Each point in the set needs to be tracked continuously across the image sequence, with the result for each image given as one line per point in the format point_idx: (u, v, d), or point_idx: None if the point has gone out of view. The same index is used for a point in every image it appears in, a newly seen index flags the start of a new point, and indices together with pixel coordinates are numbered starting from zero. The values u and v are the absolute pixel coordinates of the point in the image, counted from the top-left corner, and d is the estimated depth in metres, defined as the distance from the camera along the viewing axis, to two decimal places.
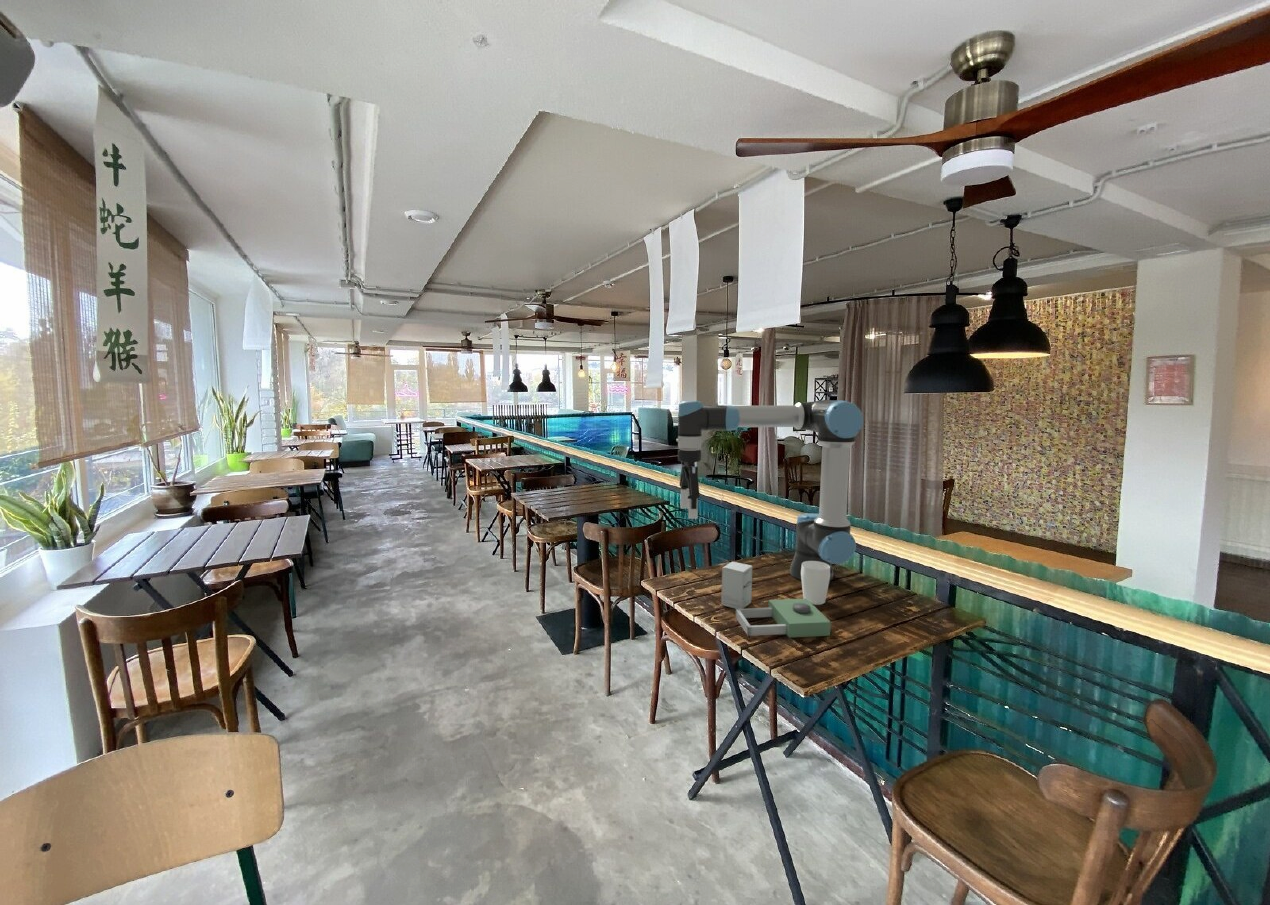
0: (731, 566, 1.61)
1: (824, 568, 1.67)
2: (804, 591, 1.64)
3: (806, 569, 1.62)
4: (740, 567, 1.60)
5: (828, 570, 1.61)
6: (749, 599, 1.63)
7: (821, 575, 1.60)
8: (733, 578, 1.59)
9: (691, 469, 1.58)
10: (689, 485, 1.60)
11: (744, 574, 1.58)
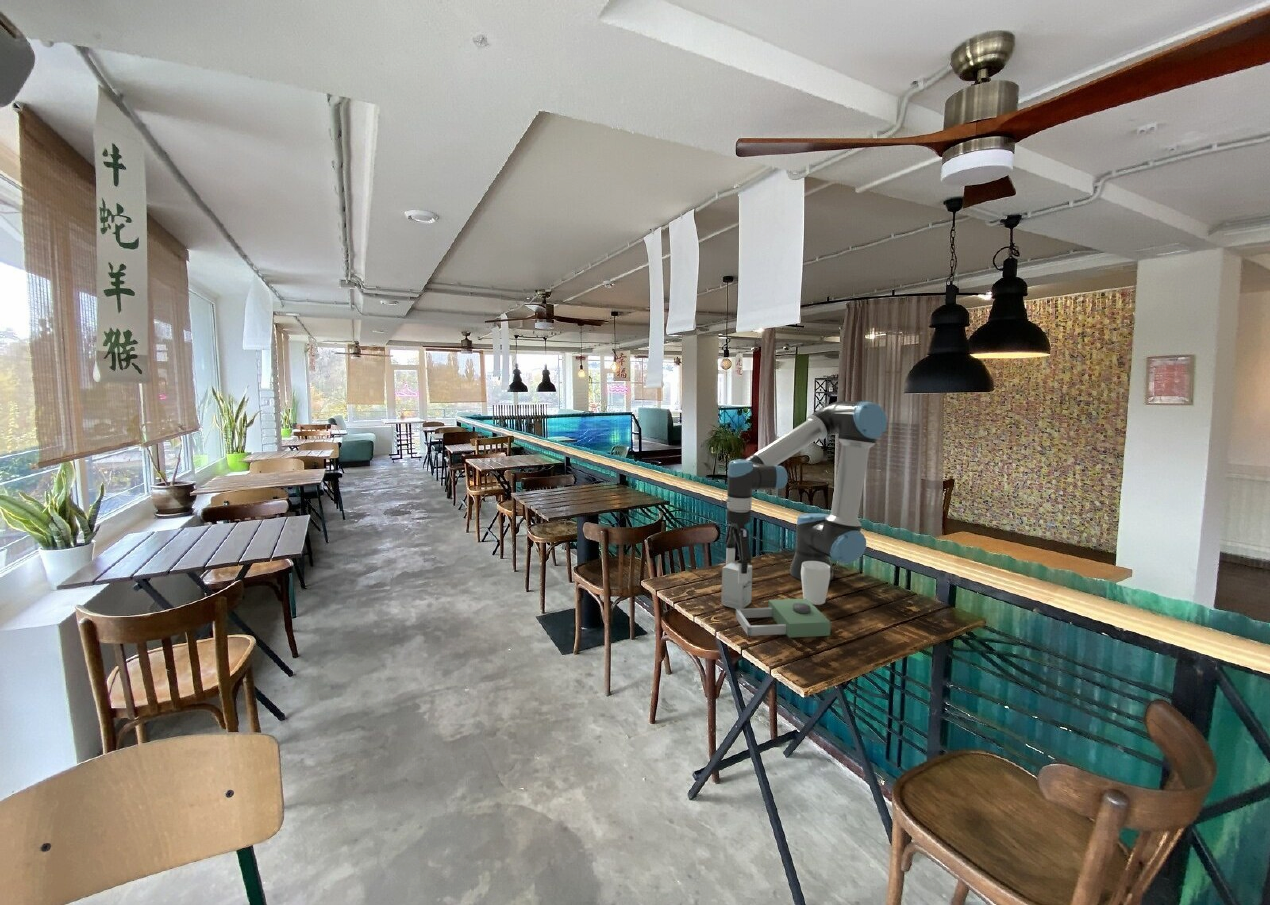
0: (731, 566, 1.61)
1: (824, 569, 1.67)
2: (804, 591, 1.64)
3: (806, 569, 1.62)
4: None
5: (828, 570, 1.61)
6: (749, 599, 1.63)
7: (821, 575, 1.60)
8: (733, 578, 1.59)
9: (742, 532, 1.53)
10: (739, 548, 1.55)
11: None
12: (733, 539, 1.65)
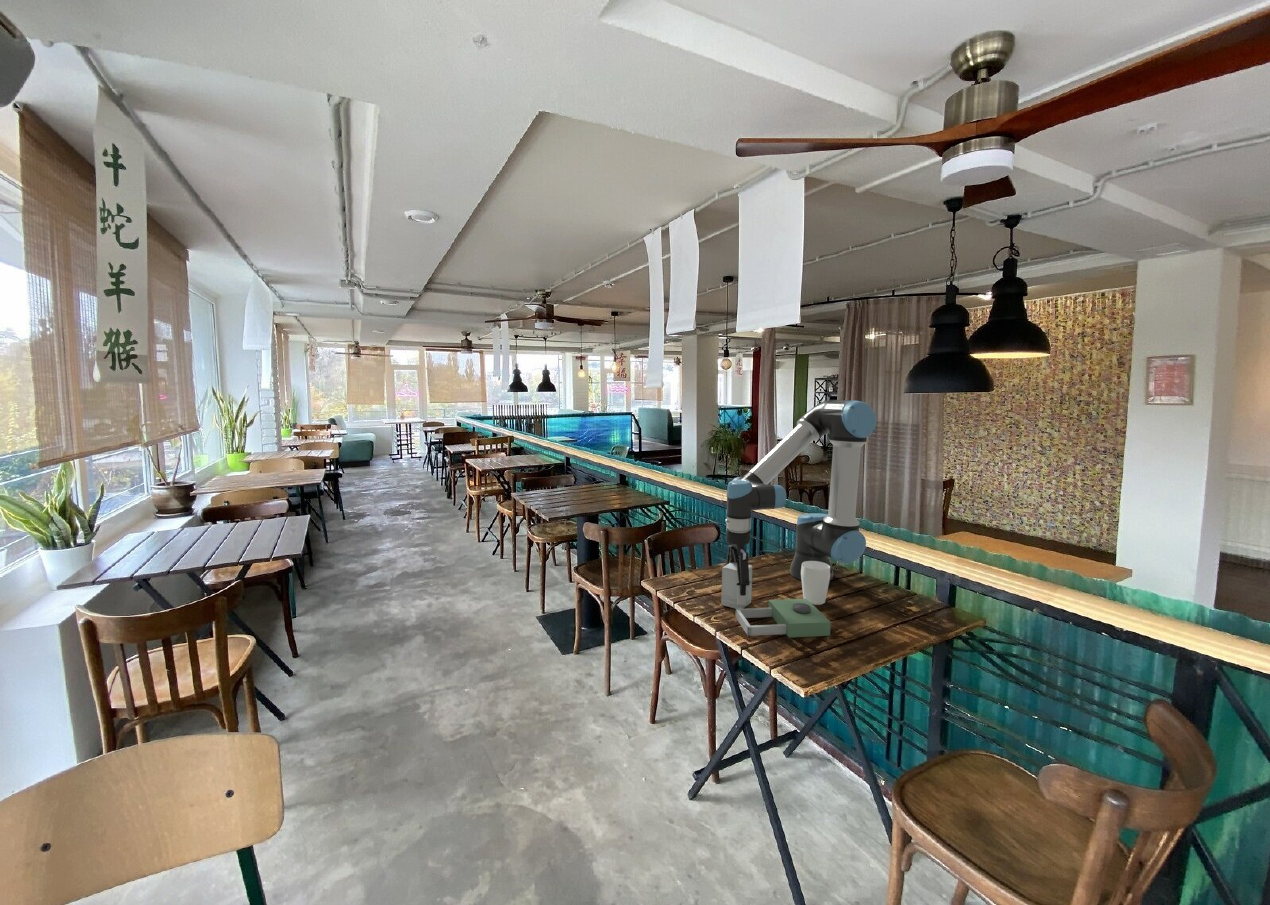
0: (731, 566, 1.61)
1: (824, 569, 1.67)
2: (804, 591, 1.64)
3: (806, 569, 1.62)
4: None
5: (828, 570, 1.61)
6: (749, 599, 1.62)
7: (821, 575, 1.60)
8: (733, 578, 1.59)
9: (742, 556, 1.54)
10: (738, 570, 1.57)
11: None
12: (734, 561, 1.65)
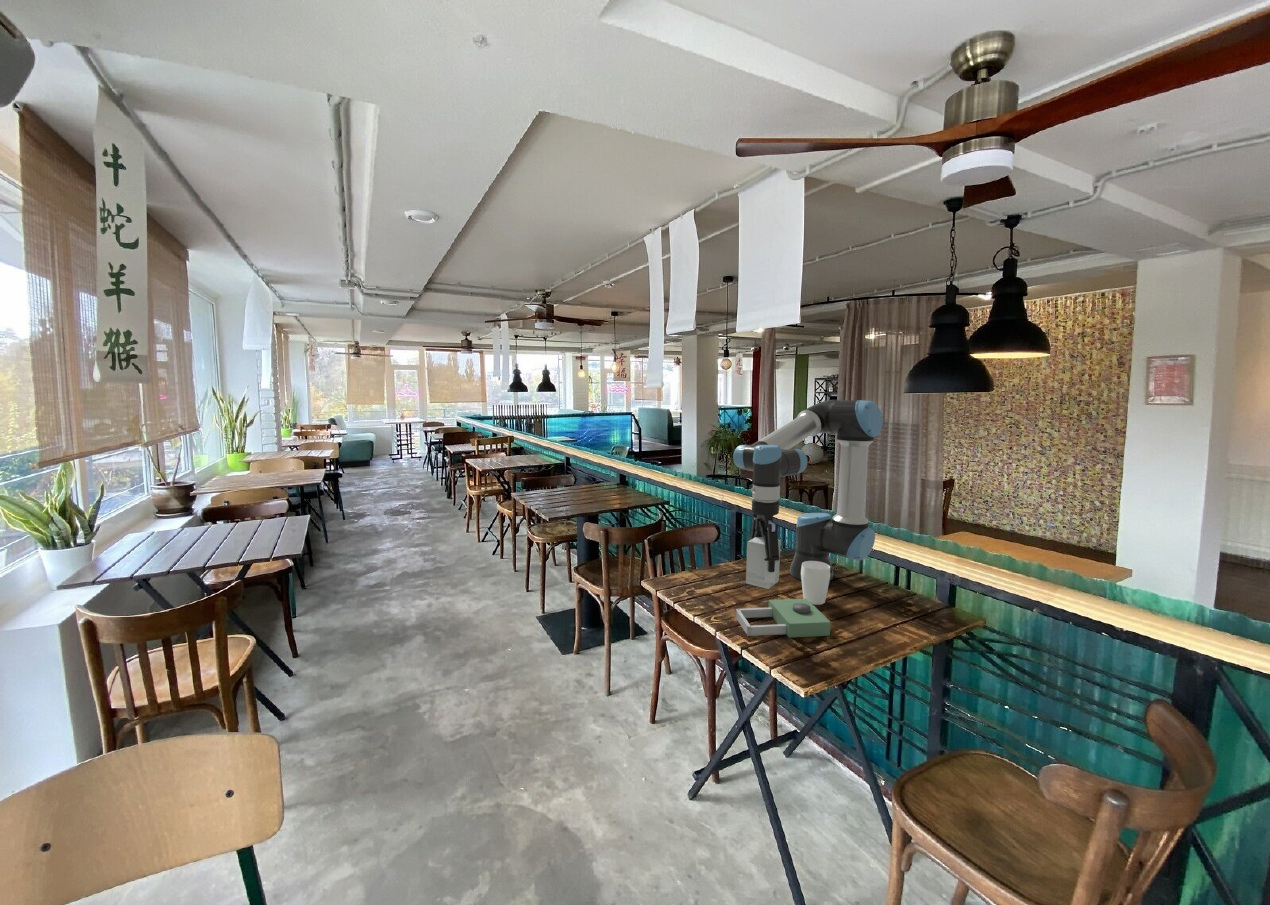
0: (757, 540, 1.45)
1: (824, 569, 1.67)
2: (804, 591, 1.64)
3: (806, 569, 1.62)
4: None
5: (828, 570, 1.61)
6: (777, 577, 1.46)
7: (821, 575, 1.60)
8: (760, 553, 1.43)
9: (771, 527, 1.38)
10: (766, 544, 1.40)
11: None
12: (760, 535, 1.49)
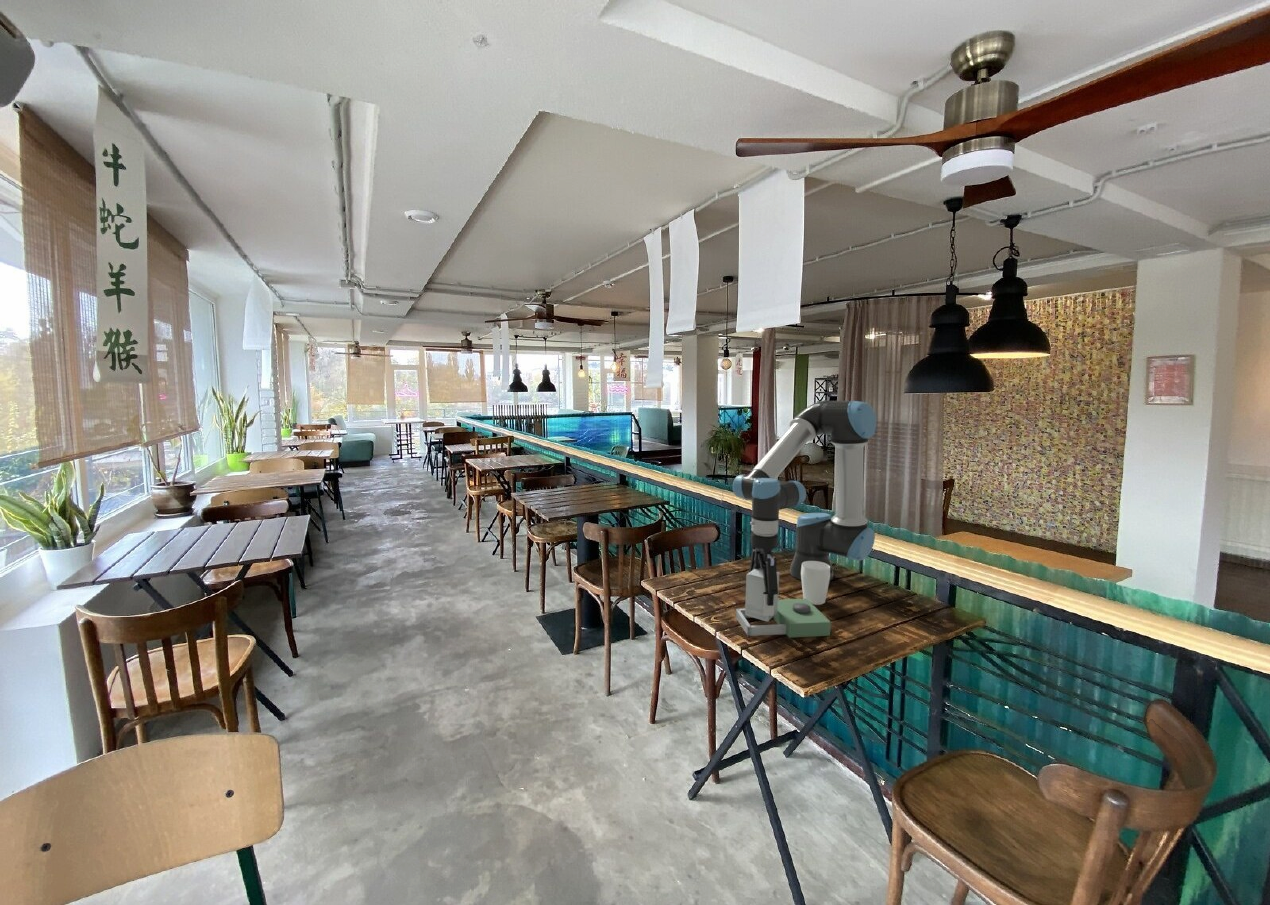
0: (756, 573, 1.46)
1: (824, 569, 1.67)
2: (804, 591, 1.64)
3: (806, 569, 1.62)
4: None
5: (828, 570, 1.61)
6: (776, 609, 1.48)
7: (821, 575, 1.60)
8: (759, 586, 1.44)
9: (769, 562, 1.39)
10: (765, 578, 1.42)
11: None
12: (759, 567, 1.50)
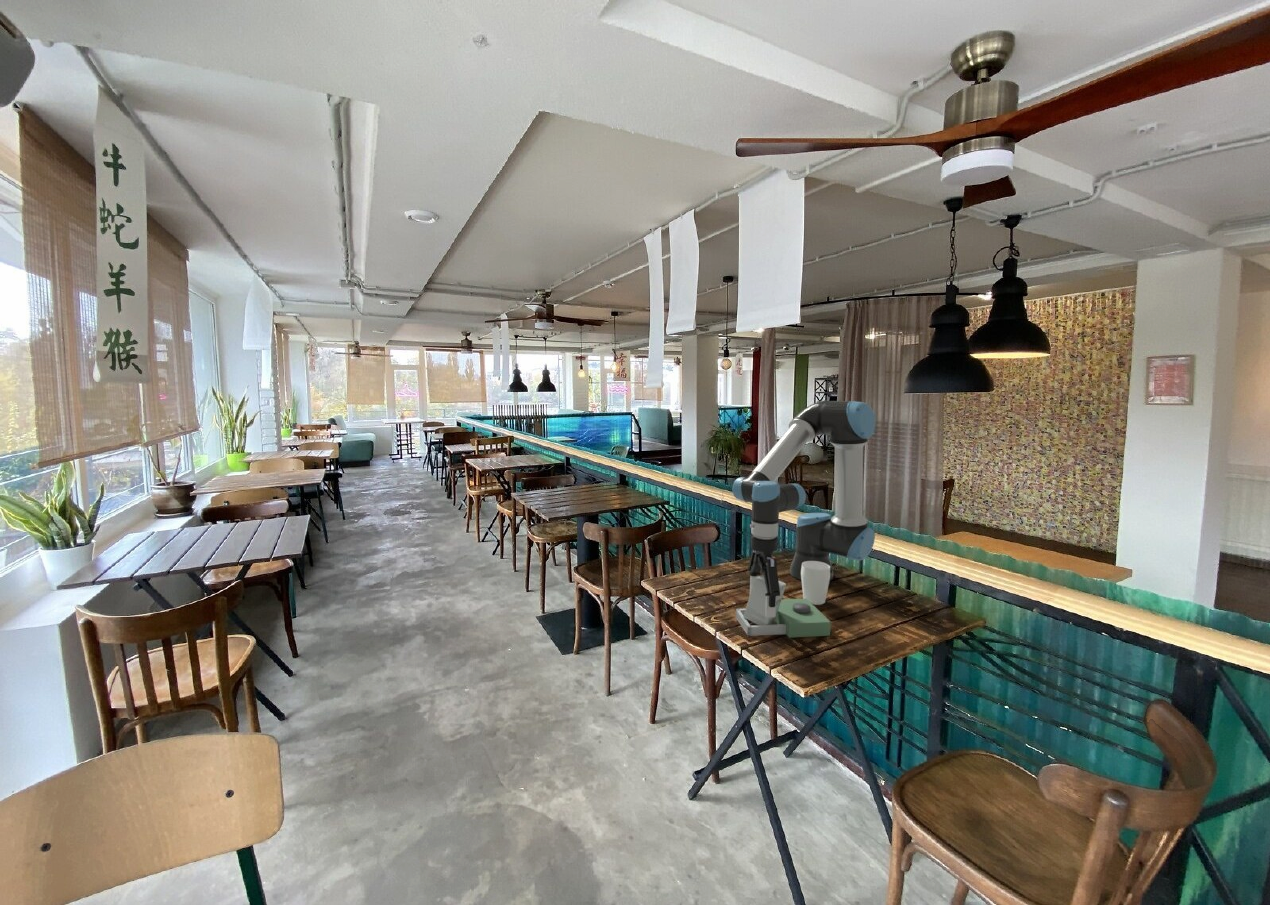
0: None
1: (824, 569, 1.67)
2: (804, 591, 1.64)
3: (806, 569, 1.62)
4: None
5: (828, 570, 1.61)
6: (774, 619, 1.48)
7: (821, 575, 1.60)
8: (765, 591, 1.44)
9: (769, 562, 1.39)
10: (766, 579, 1.41)
11: None
12: (758, 567, 1.51)
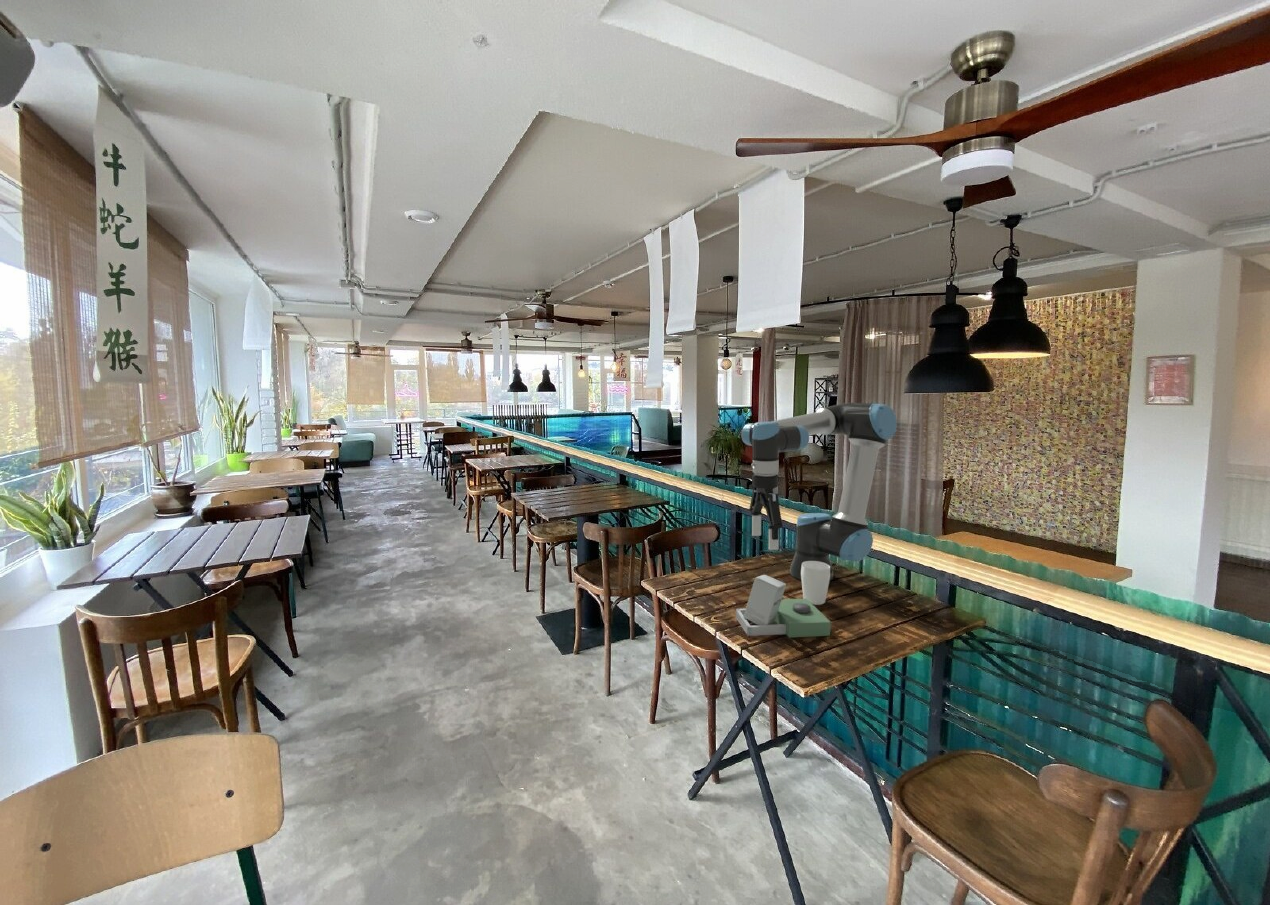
0: (764, 578, 1.47)
1: (824, 569, 1.67)
2: (804, 591, 1.64)
3: (806, 569, 1.62)
4: (774, 582, 1.46)
5: (828, 570, 1.61)
6: (774, 619, 1.48)
7: (821, 575, 1.60)
8: (765, 591, 1.44)
9: (771, 497, 1.46)
10: (769, 514, 1.48)
11: (778, 590, 1.43)
12: (759, 505, 1.58)
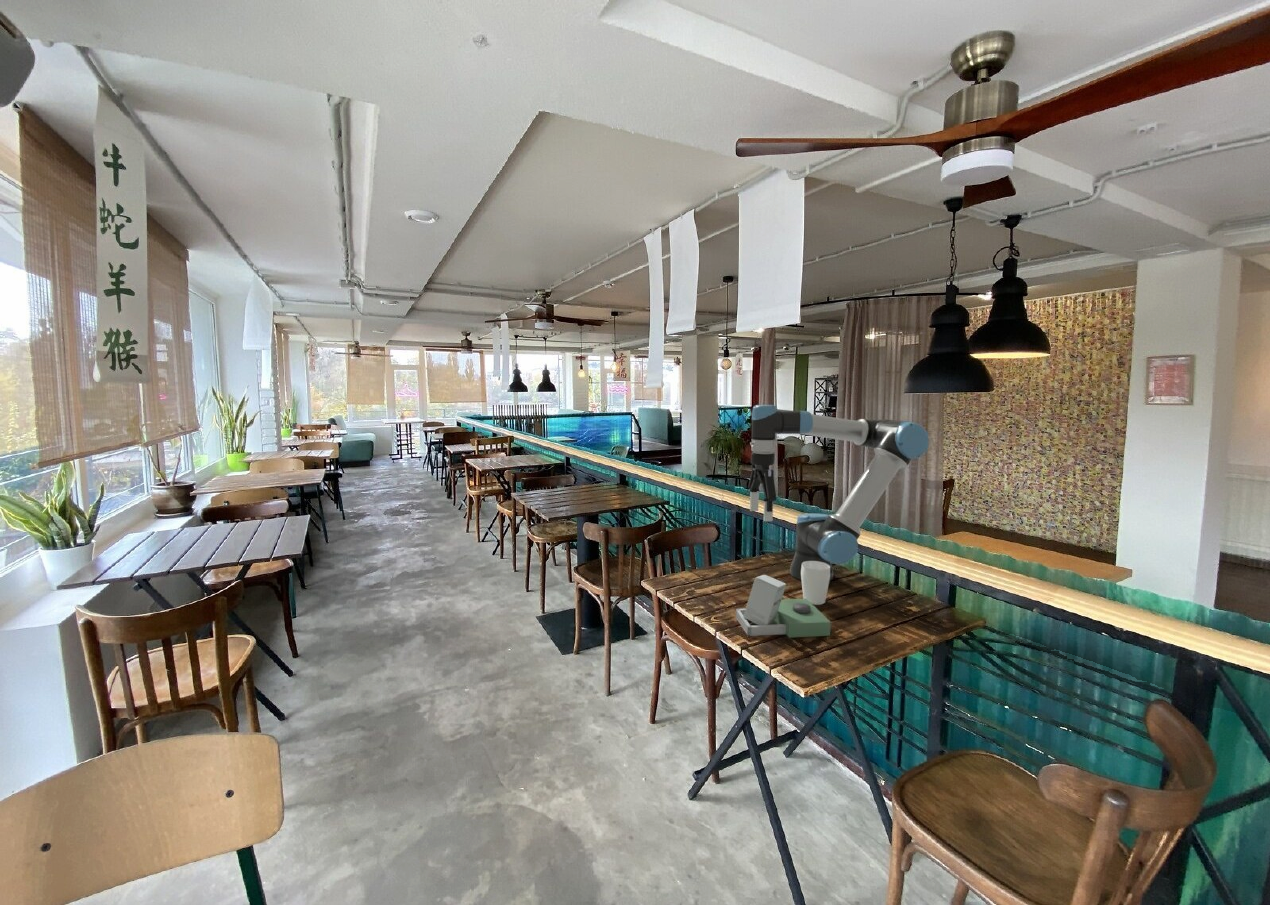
0: (764, 578, 1.47)
1: (824, 568, 1.67)
2: (804, 591, 1.64)
3: (806, 569, 1.62)
4: (774, 582, 1.46)
5: (828, 570, 1.61)
6: (774, 619, 1.48)
7: (821, 575, 1.60)
8: (765, 591, 1.44)
9: (767, 472, 1.60)
10: (764, 488, 1.62)
11: (778, 590, 1.43)
12: (757, 482, 1.72)
